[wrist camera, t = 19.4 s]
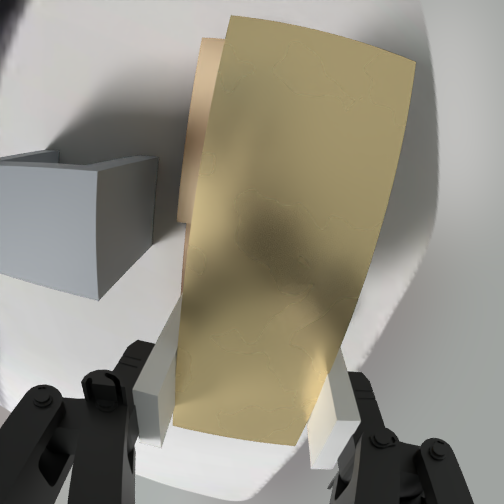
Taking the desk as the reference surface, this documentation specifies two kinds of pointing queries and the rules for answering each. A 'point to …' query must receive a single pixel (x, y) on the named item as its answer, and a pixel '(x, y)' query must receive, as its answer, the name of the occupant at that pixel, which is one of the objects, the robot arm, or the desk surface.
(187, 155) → the cradle
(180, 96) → the desk surface
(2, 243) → the block
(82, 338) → the desk surface
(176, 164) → the desk surface
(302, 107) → the tan rectangular block
